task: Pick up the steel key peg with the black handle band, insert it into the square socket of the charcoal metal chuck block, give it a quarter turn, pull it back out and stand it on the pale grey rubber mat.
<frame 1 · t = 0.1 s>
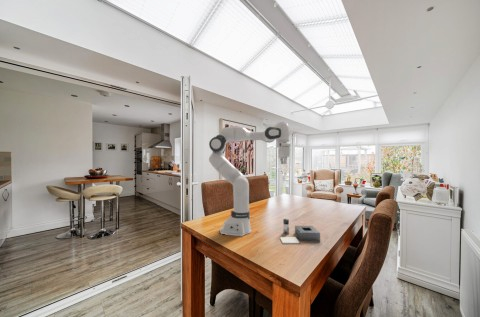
hand: (283, 164, 125), 48 cm above the table, fingers open, 8 cm apart
chuck block: (306, 236, 113), on the table
set down mat: (289, 240, 107), on the table
chuck key: (286, 233, 119), on the table
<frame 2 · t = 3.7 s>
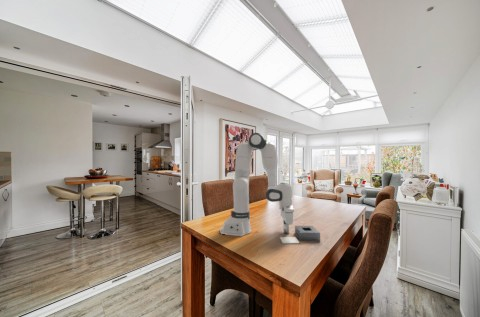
hand: (286, 226, 119), 4 cm above the table, fingers closed on chuck key, 4 cm apart
chuck key: (286, 233, 119), on the table, touching gripper
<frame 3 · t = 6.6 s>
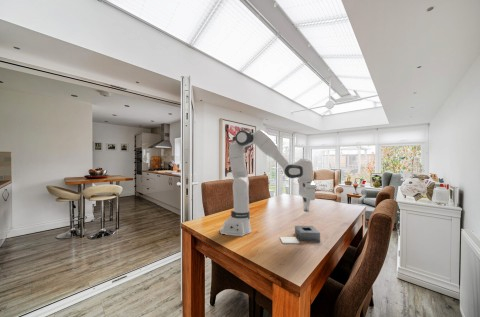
hand: (306, 204, 114), 21 cm above the table, fingers closed on chuck key, 4 cm apart
chuck key: (306, 211, 114), point 17 cm above the table, touching gripper
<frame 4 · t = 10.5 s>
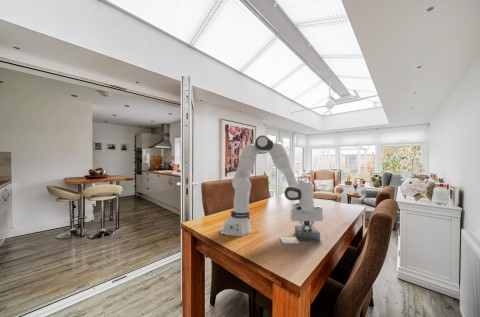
hand: (306, 227, 113), 6 cm above the table, fingers closed on chuck key, 4 cm apart
chuck key: (306, 234, 114), point 1 cm above the table, touching gripper
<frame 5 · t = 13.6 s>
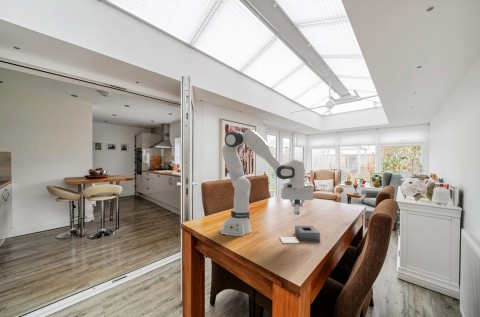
hand: (297, 206, 111), 20 cm above the table, fingers closed on chuck key, 4 cm apart
chuck key: (296, 213, 112), point 15 cm above the table, touching gripper
when the fingers open (6 cm above the table, at t = 17.3 s): chuck key stays where it is, resting on set down mat.
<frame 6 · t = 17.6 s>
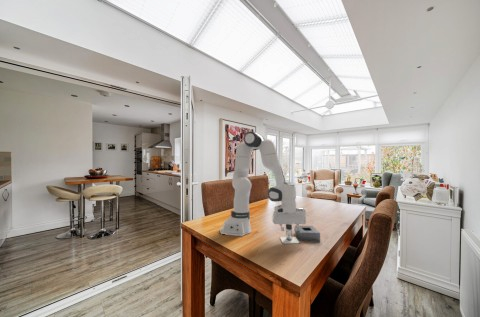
hand: (289, 230, 108), 6 cm above the table, fingers open, 7 cm apart
chuck key: (289, 239, 108), point 1 cm above the table, touching set down mat
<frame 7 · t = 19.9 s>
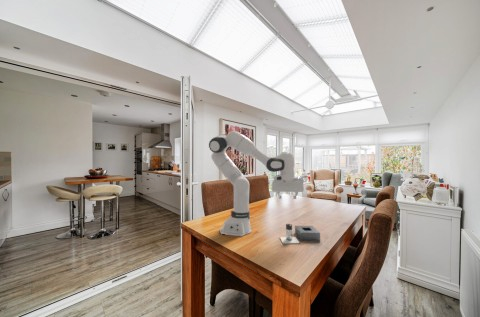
hand: (287, 198, 112), 25 cm above the table, fingers open, 8 cm apart
nothing on the table moved.
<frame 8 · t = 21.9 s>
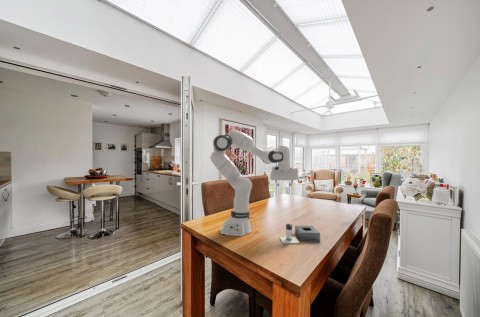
hand: (284, 186, 129), 31 cm above the table, fingers open, 8 cm apart
nothing on the table moved.
at the end: chuck key 0.5 cm off-centre on the set down mat, point 0.6 cm above the set down mat's base; chuck key tilted 0°; the gripper is holding nothing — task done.
